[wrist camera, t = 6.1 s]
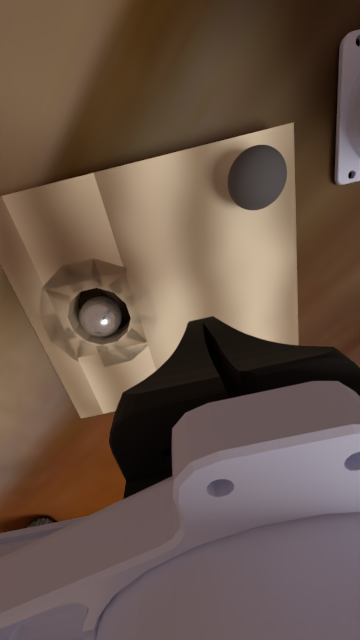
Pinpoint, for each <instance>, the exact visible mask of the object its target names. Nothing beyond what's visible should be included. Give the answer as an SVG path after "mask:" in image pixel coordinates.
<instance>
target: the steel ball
mask: <svg viewBox="0 0 360 640" xmlns="http://www.w3.org/2000/svg"><path fill="white" fill-rule="evenodd" d="M79 320H80V324H81V326H82V327H83V329H84V330H85V331H86V332H87V333H89V334H91V335H93V336H97V337H104V336H108V335H111V334H112V333H114V332H115V331H116V330H117V329H118V327H119V326H120V324H121V320H122V314H121V310H120V308H119V306H118V305H117V303H116V302H115V301H113V300H112V299H110V298H107V297H103V296H98V297H93V298H91V299H89V300H87V301H86V302H85V303H84V304H83V306H82V307H81V309H80V313H79Z"/></svg>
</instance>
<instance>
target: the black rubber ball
mask: <svg viewBox="0 0 360 640" xmlns="http://www.w3.org/2000/svg"><path fill="white" fill-rule="evenodd" d="M286 179H287V166H286V162H285V160H284V158H283V156H282V155H281V153H280V152H279V151H278V150H277V149H275V148H273V147H271V146H268V145H255V146H252V147H250V148H248V149H246V150H244V151H243V152H242V153H241V154H239V156H238V157H237V158H236V159H235V161H234V162H233V164H232V166H231V168H230V171H229V174H228V191H229V194H230V196H231V198H232V200H233V201H234V202H235V203H236V204H237V205H238V206H239V207H241V208H243V209H246V210H260V209H263V208H265V207H267V206H269V205H270V204H272V203H273V202H274V201H275V200H276V199H277V198H278V197H279V195H280V194H281V192H282V191H283V189H284V186H285V183H286Z"/></svg>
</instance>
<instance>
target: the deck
mask: <svg viewBox="0 0 360 640" xmlns="http://www.w3.org/2000/svg"><path fill="white" fill-rule="evenodd" d="M255 145H268V146H271V147H273V148H275V149H277V150H278V151H279V152H280V153H281V155H282V156H283V158H284V160H285V162H286V166H287V179H286V183H285V186H284V189H283V191H282V192H281V194H280V195H279V197H278V198H277V199H276V200H275V201H274V202H273V203H272V204H270V205H269V206H267V207H265V208H263V209H260V210H246V209H243V208H241V207H239V206H238V205H237V204H236V203H235V202H234V201H233V200H232V198H231V196H230V194H229V191H228V174H229V171H230V168H231V166H232V164H233V162H234V161H235V159H236V158H237V157H238V156H239V154H241V153H242V152H243V151H244V150H246V149H248V148H250V147H252V146H255ZM0 265H1V267H2V268H3V270H4V272H5V274H6V276H7V278H8V280H9V282H10V284H11V286H12V288H13V289H14V291H15V293H16V295H17V297H18V299H19V301H20V303H21V305H22V307H23V309H24V310H25V312H26V314H27V316H28V318H29V320H30V322H31V324H32V326H33V328H34V330H35V331H36V333H37V335H38V337H39V339H40V341H41V343H42V345H43V347H44V349H45V350H46V352H47V354H48V356H49V358H50V360H51V362H52V364H53V366H54V368H55V370H56V371H57V373H58V375H59V377H60V379H61V381H62V383H63V385H64V387H65V389H66V391H67V392H68V394H69V396H70V398H71V400H72V402H73V404H74V406H75V408H76V410H77V412H78V413H79V415H80V417H81V418H85V417H90V416H95V415H99V414H104V413H109V412H113V411H116V409H117V406H118V403H119V401H120V398H121V396H122V393H123V392H124V391H126V390H128V389H130V388H131V387H133V386H135V385H136V384H138V383H140V382H141V381H143V380H144V379H146V378H147V377H149V376H150V375H151V374H153V373H154V372H155V371H156V370H157V369H159V368H160V367H161V366H162V365H163V364H164V363H165V362H166V361H167V360H168V359H169V358H170V356H171V355H172V354H173V352H174V351H175V349H176V348H177V346H178V344H179V343H180V341H181V339H182V337H183V335H184V332H185V330H186V327H187V324H188V322H189V321H193V320H198V319H202V318H207V317H211V316H214V317H216V318H217V319H219V320H220V321H222V322H224V323H225V324H227V325H229V326H231V327H232V328H234V329H236V330H239V331H241V332H243V333H245V334H248V335H251V336H254V337H257V338H260V339H264V340H267V341H272V342H277V343H282V344H289V345H298V300H297V254H296V208H295V163H294V123H290V124H286V125H282V126H278V127H274V128H270V129H266V130H262V131H258V132H254V133H250V134H246V135H242V136H238V137H234V138H230V139H226V140H222V141H218V142H214V143H210V144H206V145H202V146H198V147H194V148H190V149H186V150H182V151H178V152H174V153H170V154H166V155H162V156H158V157H154V158H150V159H146V160H142V161H138V162H134V163H130V164H126V165H122V166H118V167H114V168H110V169H106V170H102V171H98V172H95V173H91V174H87V175H83V176H79V177H75V178H71V179H67V180H63V181H59V182H55V183H51V184H47V185H43V186H39V187H35V188H31V189H27V190H23V191H19V192H15V193H11V194H7V195H3V196H0ZM94 288H99V289H103V290H106V291H110V292H114V293H115V294H116V295H117V296H118V297H119V298H120V299H121V300H122V301H123V302H125V303H126V306H127V309H128V312H129V315H130V318H131V319H130V321H129V322H128V323H127V324H126V325H125V326H124V327H122V328H120V329H117V330H116V331H115V332H114V333H112V334H111V335H108V336H104V337H97V336H93V335H91V334H89V333H87V332H86V331H85V330H84V329H83V327H82V326H81V324H80V320H79V313H80V308H79V299H80V293H81V292H82V291H85V290H89V289H94Z"/></svg>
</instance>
